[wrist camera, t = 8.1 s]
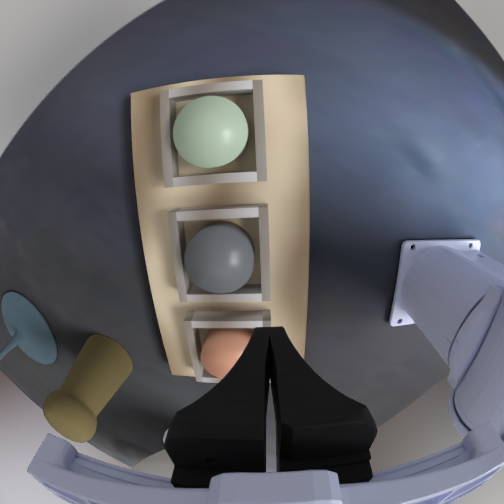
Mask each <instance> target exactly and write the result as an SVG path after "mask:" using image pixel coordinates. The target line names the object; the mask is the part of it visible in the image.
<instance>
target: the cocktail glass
mask: <svg viewBox="0 0 504 504" xmlns="http://www.w3.org/2000/svg"><path fill="white" fill-rule="evenodd" d="M1 311H2V316H3V319H4V322H5V325H6V327H7V329H8V331H9V333H10V335H11V336H12V338H11V340H10V341H9V342H8V343H7V344H6V346H5V347H4V348H3V349H2V350H1V351H0V360H1V359H2V358H3V357H4V356H5V355H6V354H7V353H8V352H9V351H10V350H11V349H13V348H14V347H15V346H17V345H18V346H19V347H20V349H21V350H22V351H23V352H24V353H26V354H27V355H28V356H29V357H30V358H32V359H33V360H35V361H37V362H39V363H42V364H51V363H53V362H54V361H55V360H56V357H57V345H56V341H55V338H54V335H53V333H52V331H51V329H50V327H49V325H48V323H47V322H46V320H45V319H44V317H43V316H42V314H41V313H40V312H39V310H38V309H37V308H36V307H35V306H34V305H33V304H32V303H31V302H30V301H29V300H28V299H27V298H26V297H24V296H23V295H21V294H19V293H17V292H13V291H11V292H7V293H6V294H5V295H4V296H3V298H2V301H1Z"/></svg>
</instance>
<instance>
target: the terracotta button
mask: <svg viewBox="0 0 504 504" xmlns="http://www.w3.org/2000/svg"><path fill="white" fill-rule="evenodd" d="M252 333H253V332H252V331H251V330H250V329H248V328H212V329H211V330H210V331H209V332H208V333H207V335H206V338H205V341H204V344H203V348H202V351H201V357H200V358H201V363H202V365H203V367H204V368H205V369H206V370H207V371H208V372H209V373H210V374H211V375H213V376H215V377H217V378H220V379H223V378H224V377H225V375H226V374H227V373H228V372H229V371H230V370H231V368H232V367H233V366H234V364H235V363H236V362H237V360H238V359H239V357H240V356H241V354H242V353H243V351H244V349H245V347H246V346H247V344H248V342H249V340H250V338H251V335H252Z"/></svg>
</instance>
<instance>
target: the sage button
mask: <svg viewBox="0 0 504 504" xmlns="http://www.w3.org/2000/svg"><path fill="white" fill-rule="evenodd" d="M248 138H249V128H248V124H247V121H246V119H245V116H244V114H243V112H242V111H241V109H240V108H239V107H238V106H237V105H236V104H235V103H233V102H232V101H230V100H228V99H226V98H224V97H220V96H204V97H200V98H197V99H195V100H193V101H192V102H190V103H189V104H187V105H186V106H185V107H184V108H183V109H182V110H181V111H180V113H179V114H178V116H177V118H176V120H175V123H174V127H173V140H174V144H175V147H176V149H177V151H178V152H179V154H180V155H181V156H182V157H183V158H184V159H185V160H186V161H187V162H189V163H191V164H192V165H195V166H198V167H202V168H214V167H220V166H224V165H227V164H229V163H231V162H233V161H234V160H236V159H237V158H238V157H239V156H240V155H241V154H242V153H243V151H244V150H245V148H246V145H247V143H248Z"/></svg>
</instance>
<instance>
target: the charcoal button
mask: <svg viewBox="0 0 504 504" xmlns="http://www.w3.org/2000/svg"><path fill="white" fill-rule="evenodd" d="M254 252H255V251H254V245H253V242H252V239H251V237H250V236H249V234H248V233H247V232H246V231H245V230H244V229H243V228H242V227H241V226H239V225H237V224H235V223H233V222H229V221H215V222H211V223H209V224H207V225H205V226H204V227H202V228H201V229H200V230H199V231H198V232H197V233H196V235H195V236H194V237H193V238H192V239H191V241H190V242H189V244H188V246H187V248H186V251H185V257H184V261H185V267H186V270H187V273H188V275H189V276H190V278H191V279H192V280H193V282H194V283H195V284H196V285H198V286H199V287H200V288H202V289H204V290H206V291H208V292H212V293H217V294H224V293H230V292H233V291H236V290H238V289H239V288H241V287H242V286H243V285H244V284H245V283H246V282H247V281H248V280H249V278H250V276H251V274H252V271H253V266H254Z"/></svg>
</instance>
